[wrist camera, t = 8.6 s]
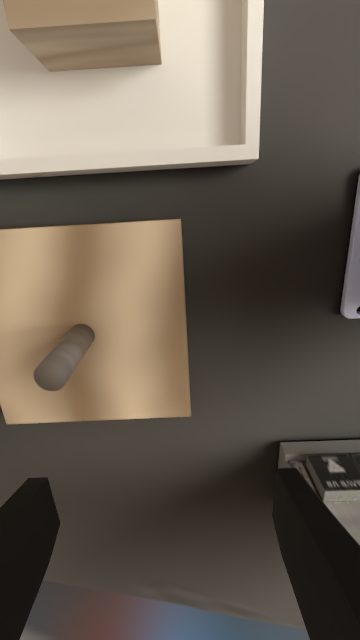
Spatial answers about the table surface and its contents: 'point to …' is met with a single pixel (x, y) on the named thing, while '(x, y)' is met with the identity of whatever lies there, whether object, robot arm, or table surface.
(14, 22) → the collar
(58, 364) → the tan base plate
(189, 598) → the table surface
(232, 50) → the tray
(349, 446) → the tall grey upright box
